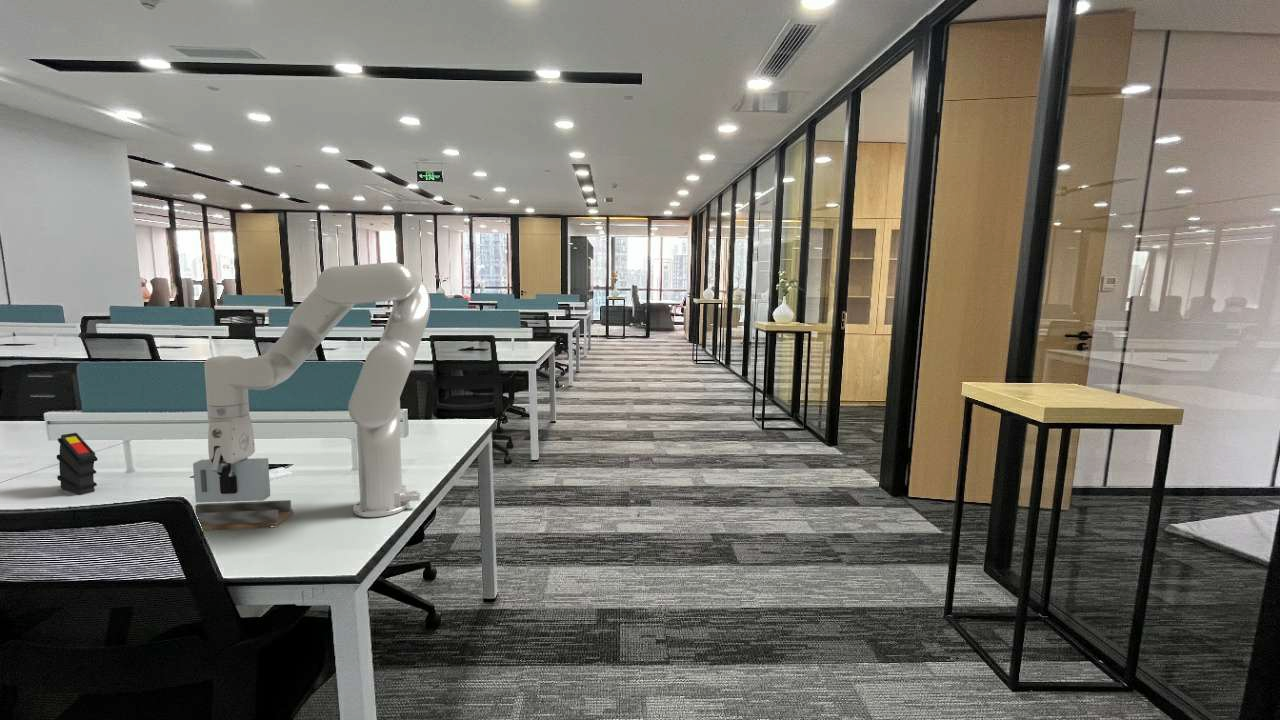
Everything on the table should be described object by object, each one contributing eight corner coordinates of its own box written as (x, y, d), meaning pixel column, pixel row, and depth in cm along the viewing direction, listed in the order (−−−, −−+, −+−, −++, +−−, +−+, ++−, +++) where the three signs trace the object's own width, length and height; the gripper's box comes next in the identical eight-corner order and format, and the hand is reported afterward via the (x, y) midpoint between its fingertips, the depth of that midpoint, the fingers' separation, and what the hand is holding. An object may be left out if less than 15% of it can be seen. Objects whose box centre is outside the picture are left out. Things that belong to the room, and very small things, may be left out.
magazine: (71, 477, 153) (77, 431, 149) (94, 504, 149) (101, 458, 144) (52, 481, 150) (58, 434, 145) (75, 509, 145) (82, 462, 141)
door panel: (270, 495, 130) (268, 458, 129) (262, 501, 127) (260, 462, 126) (204, 497, 128) (201, 459, 127) (194, 503, 125) (191, 464, 124)
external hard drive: (232, 482, 157) (282, 471, 166) (241, 488, 152) (292, 477, 161) (232, 476, 157) (282, 466, 166) (241, 482, 152) (292, 471, 161)
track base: (292, 513, 134) (291, 499, 133) (276, 527, 126) (275, 512, 125) (200, 517, 131) (199, 503, 130) (177, 531, 123) (176, 516, 123)
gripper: (225, 419, 118) (231, 503, 120) (265, 404, 134) (269, 478, 136) (186, 419, 117) (192, 504, 119) (231, 404, 133) (236, 479, 135)
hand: (233, 489), depth 127 cm, fingers closed on door panel, 3 cm apart
